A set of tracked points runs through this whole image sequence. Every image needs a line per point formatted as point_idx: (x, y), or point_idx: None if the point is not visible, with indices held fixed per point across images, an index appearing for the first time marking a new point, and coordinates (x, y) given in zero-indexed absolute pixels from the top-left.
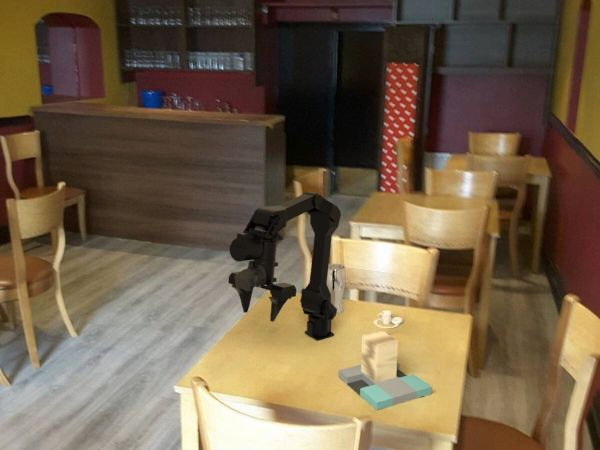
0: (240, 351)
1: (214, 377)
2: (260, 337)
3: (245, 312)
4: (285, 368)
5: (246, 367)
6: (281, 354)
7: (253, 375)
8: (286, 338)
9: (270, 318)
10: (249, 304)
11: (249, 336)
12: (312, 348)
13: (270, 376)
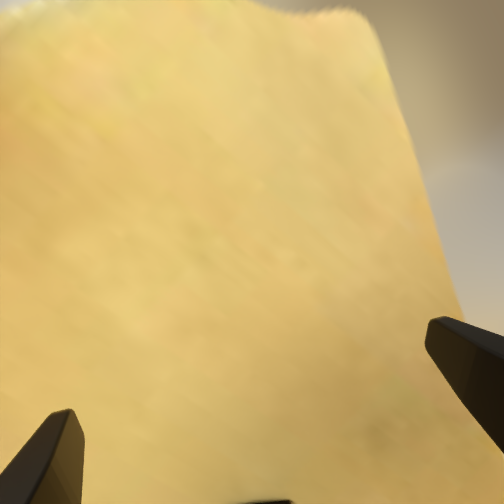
0: (356, 267)
1: (277, 46)
2: (376, 377)
3: (429, 326)
4: (134, 314)
5: (248, 205)
6: (233, 365)
7: (176, 182)
8: (308, 438)
9: (58, 434)
10: (480, 422)
11: (407, 354)
12: (190, 469)
13: (119, 229)
